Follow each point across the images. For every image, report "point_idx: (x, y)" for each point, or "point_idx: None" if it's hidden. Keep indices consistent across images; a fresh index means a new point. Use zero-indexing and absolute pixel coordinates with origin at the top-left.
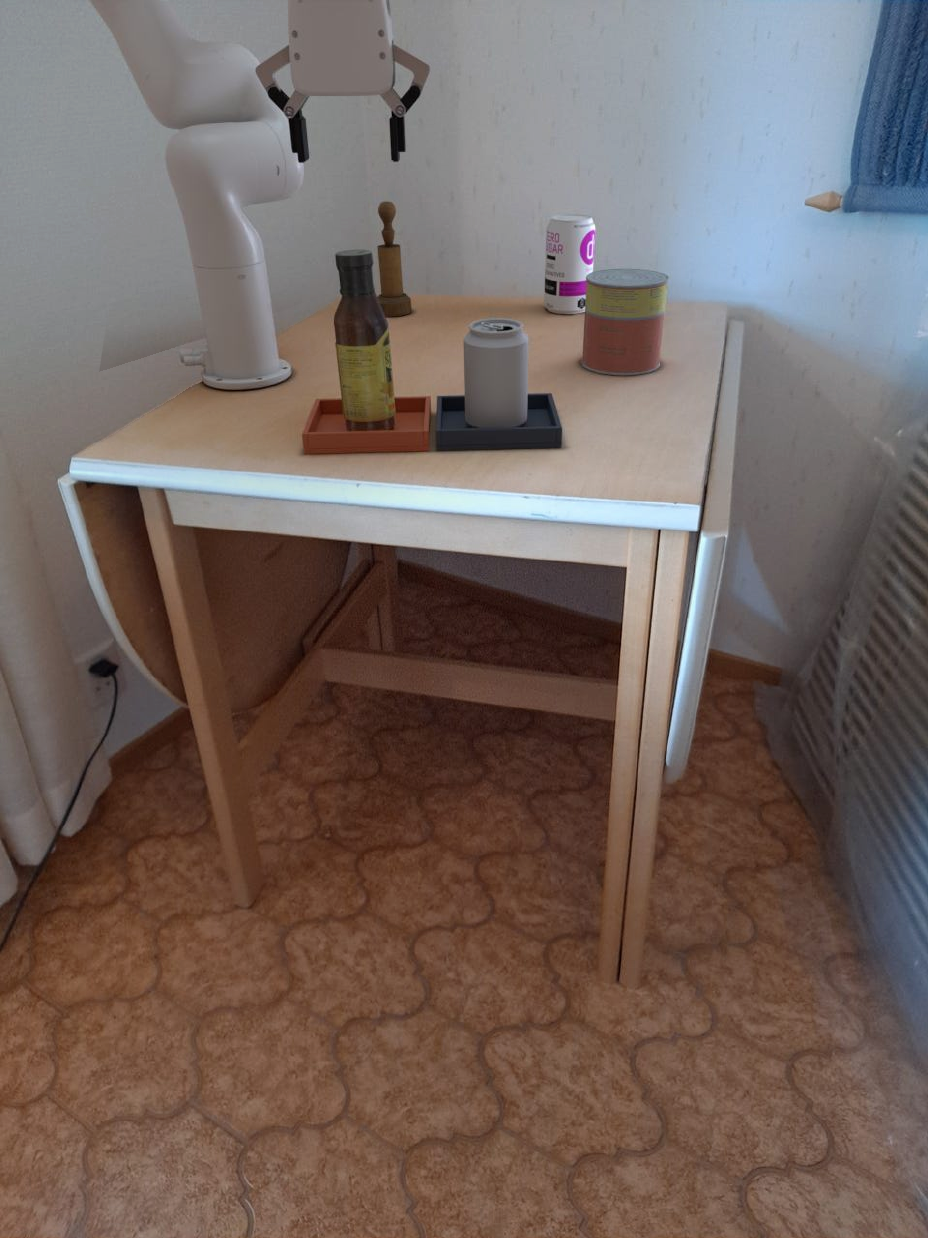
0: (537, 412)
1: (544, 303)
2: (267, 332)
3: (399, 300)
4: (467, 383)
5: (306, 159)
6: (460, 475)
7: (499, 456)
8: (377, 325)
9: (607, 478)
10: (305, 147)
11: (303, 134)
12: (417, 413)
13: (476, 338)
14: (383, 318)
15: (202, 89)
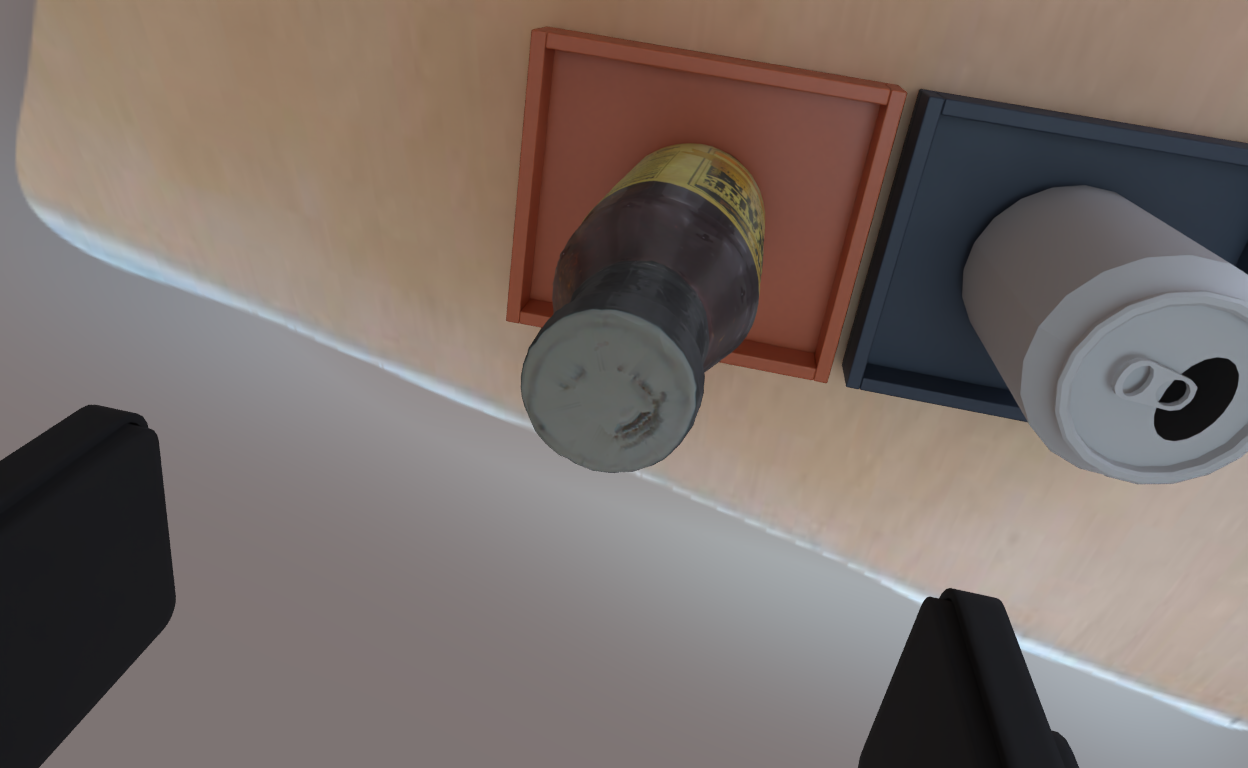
0: (1230, 197)
1: None
2: None
3: None
4: (988, 343)
5: (166, 557)
6: (859, 504)
7: (984, 434)
8: (709, 366)
9: (1171, 599)
10: (107, 616)
11: (31, 724)
12: (849, 112)
13: (1055, 429)
14: (737, 338)
15: None
